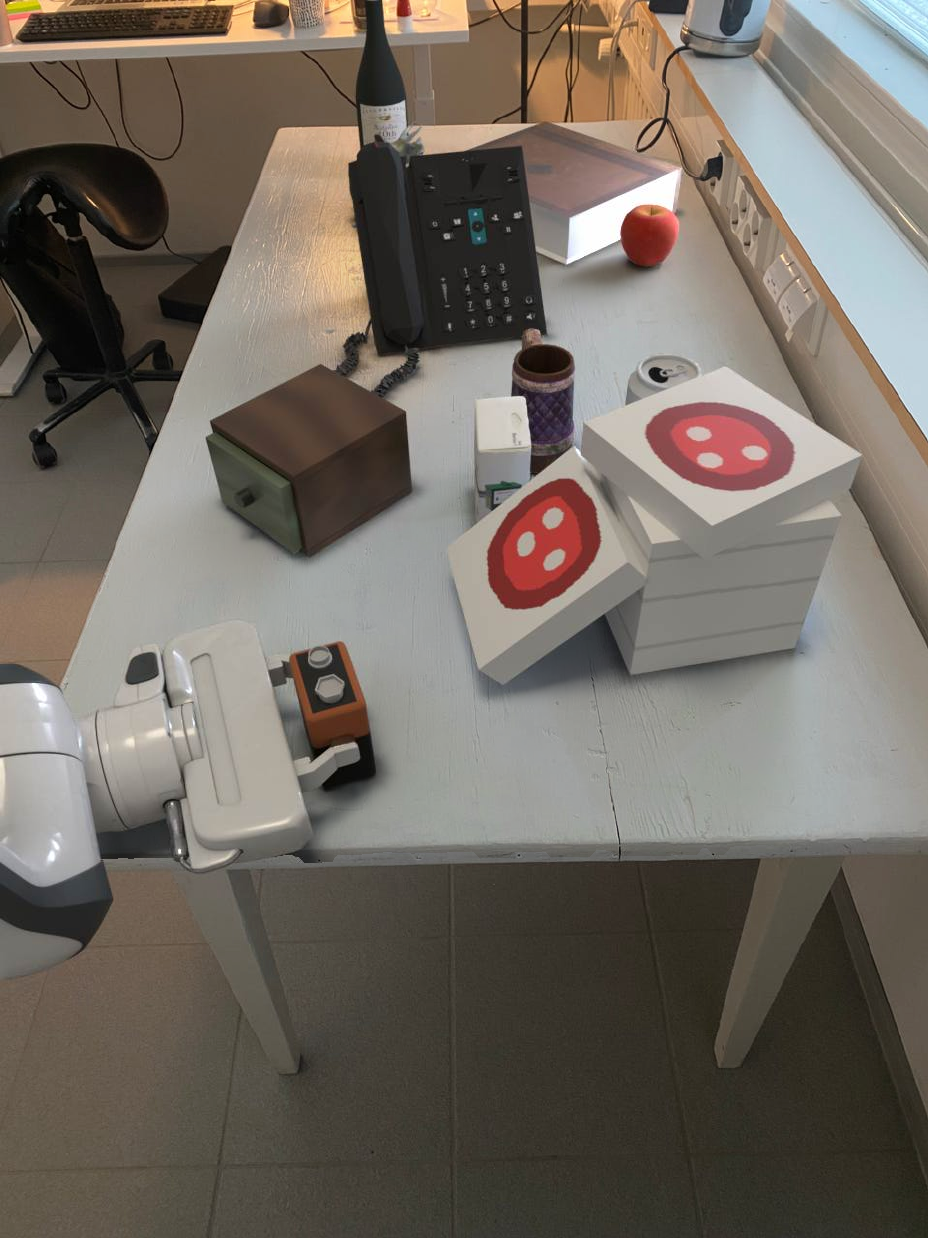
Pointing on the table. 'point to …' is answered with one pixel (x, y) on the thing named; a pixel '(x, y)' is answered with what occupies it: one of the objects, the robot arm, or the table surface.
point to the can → (660, 375)
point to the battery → (333, 707)
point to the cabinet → (326, 450)
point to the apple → (649, 234)
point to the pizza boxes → (661, 534)
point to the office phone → (443, 251)
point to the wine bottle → (379, 84)
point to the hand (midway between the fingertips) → (343, 704)
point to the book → (585, 187)
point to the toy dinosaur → (403, 146)
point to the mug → (545, 397)
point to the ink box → (500, 451)
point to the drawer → (255, 491)
